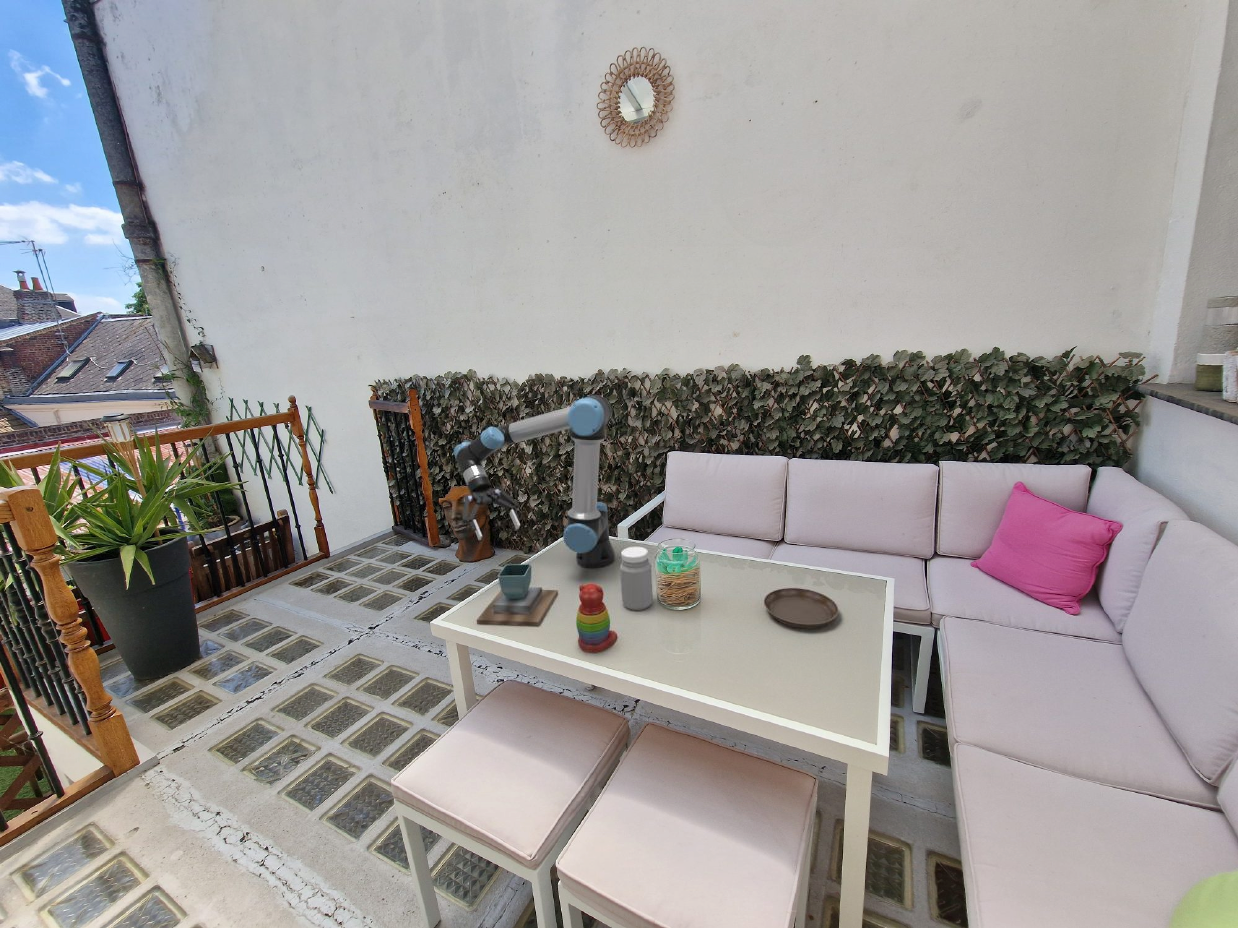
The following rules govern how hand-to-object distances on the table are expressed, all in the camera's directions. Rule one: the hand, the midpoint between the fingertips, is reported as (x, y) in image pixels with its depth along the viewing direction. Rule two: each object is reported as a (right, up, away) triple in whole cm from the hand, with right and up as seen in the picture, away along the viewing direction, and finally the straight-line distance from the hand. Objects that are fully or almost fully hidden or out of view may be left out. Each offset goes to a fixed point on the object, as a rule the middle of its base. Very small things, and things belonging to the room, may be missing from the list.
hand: (500, 532), depth 170 cm
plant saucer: (+94, -22, -20) cm, 98 cm away
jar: (+46, -22, -9) cm, 52 cm away
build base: (+8, -24, -7) cm, 26 cm away
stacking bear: (+33, -27, -28) cm, 51 cm away
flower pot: (+8, -19, -7) cm, 22 cm away
